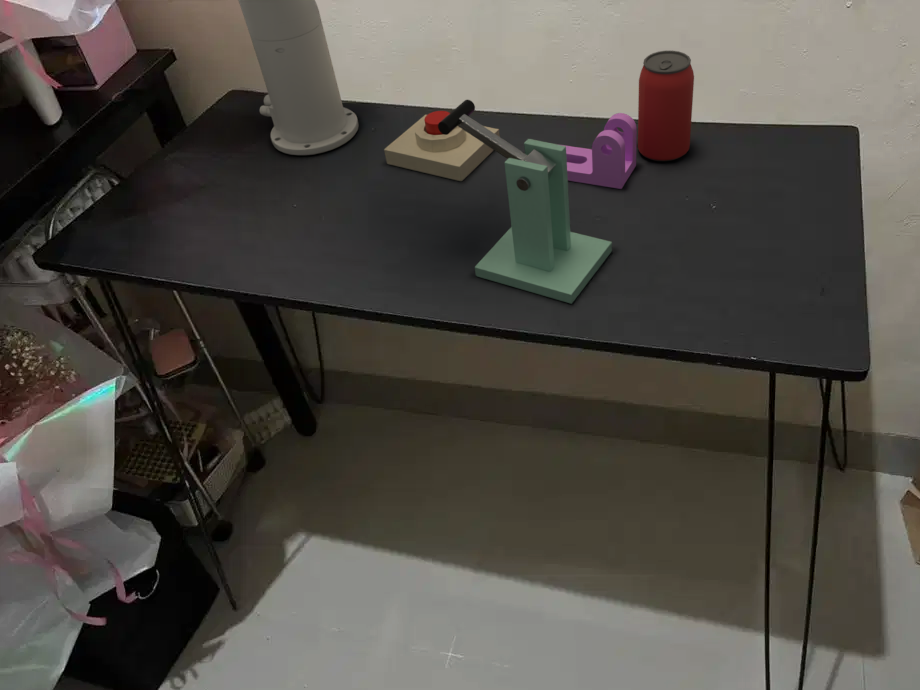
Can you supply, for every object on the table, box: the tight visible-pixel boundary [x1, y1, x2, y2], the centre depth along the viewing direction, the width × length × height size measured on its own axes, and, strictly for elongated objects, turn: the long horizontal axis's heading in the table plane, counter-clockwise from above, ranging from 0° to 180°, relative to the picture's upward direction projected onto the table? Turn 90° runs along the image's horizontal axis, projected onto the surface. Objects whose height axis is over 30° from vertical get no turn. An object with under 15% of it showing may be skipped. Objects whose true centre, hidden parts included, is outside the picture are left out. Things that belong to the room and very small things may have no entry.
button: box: [424, 110, 451, 135], centre depth 110 cm, size 4×4×2 cm
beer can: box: [637, 50, 695, 162], centre depth 104 cm, size 7×7×12 cm
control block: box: [383, 114, 501, 182], centre depth 111 cm, size 12×10×4 cm
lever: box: [438, 99, 556, 181], centre depth 86 cm, size 12×5×2 cm, turn 60°
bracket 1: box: [474, 138, 613, 305], centre depth 89 cm, size 12×10×14 cm
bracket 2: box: [561, 112, 638, 190], centre depth 104 cm, size 13×6×7 cm, turn 65°
